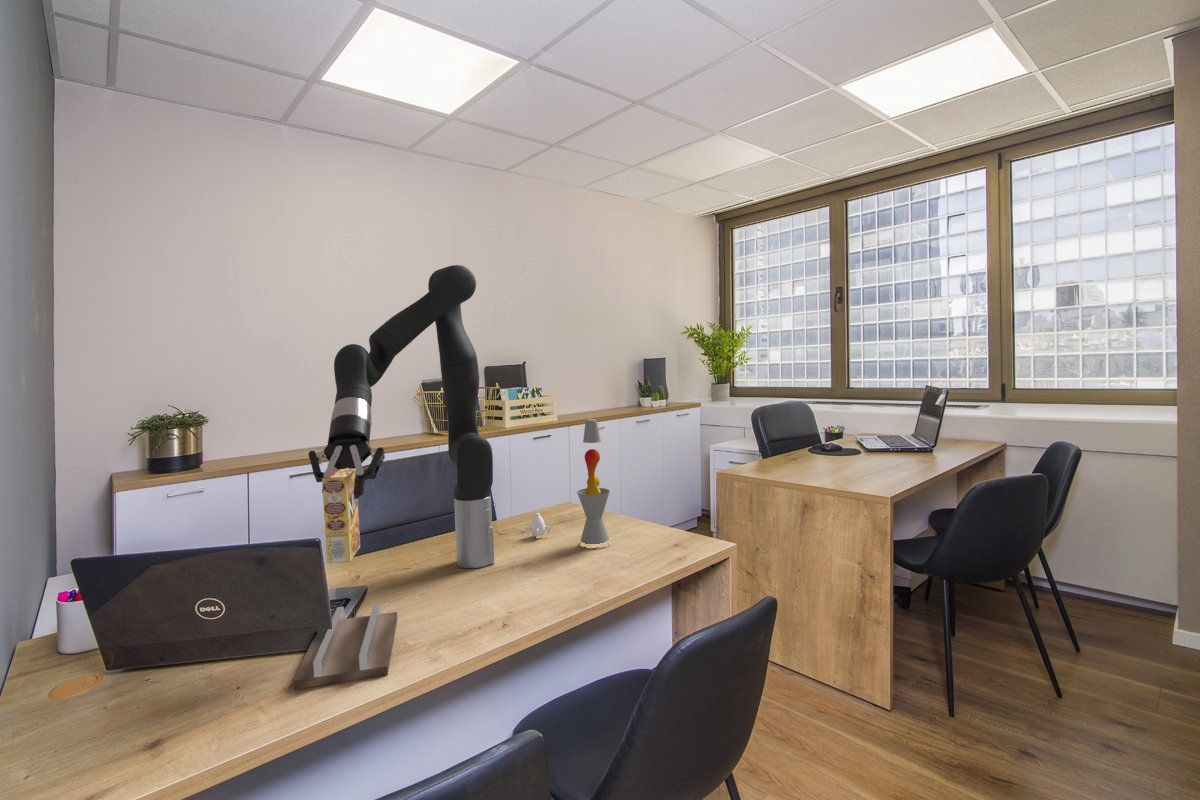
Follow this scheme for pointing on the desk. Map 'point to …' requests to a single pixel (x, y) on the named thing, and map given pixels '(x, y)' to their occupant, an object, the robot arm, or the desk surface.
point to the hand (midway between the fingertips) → (342, 496)
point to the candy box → (341, 515)
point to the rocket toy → (537, 526)
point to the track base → (349, 650)
